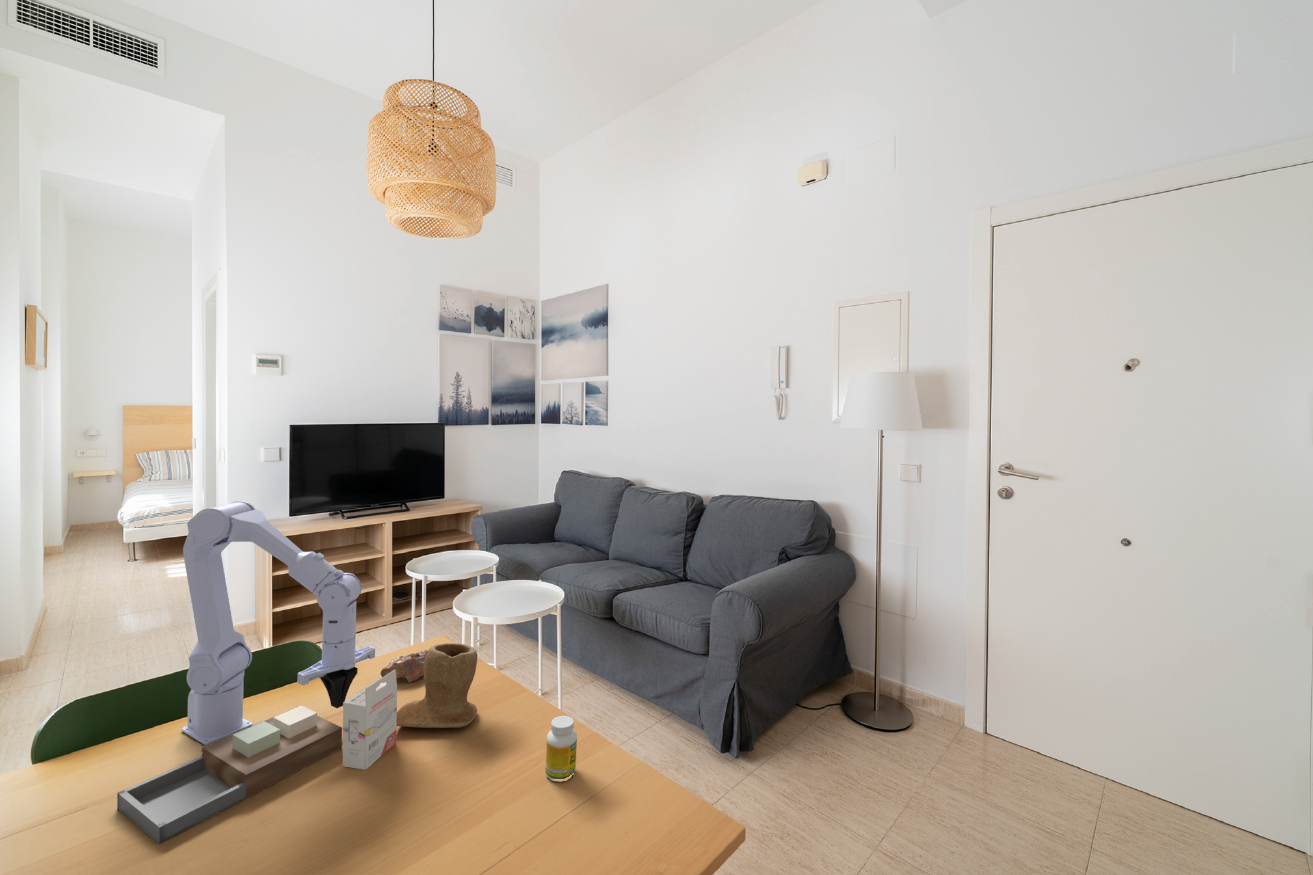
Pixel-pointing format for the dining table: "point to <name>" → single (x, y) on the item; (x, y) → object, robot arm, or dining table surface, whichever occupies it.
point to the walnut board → (271, 757)
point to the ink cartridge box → (370, 723)
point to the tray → (177, 800)
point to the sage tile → (256, 739)
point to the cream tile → (295, 721)
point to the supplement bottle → (561, 748)
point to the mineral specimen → (407, 666)
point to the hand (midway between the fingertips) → (337, 705)
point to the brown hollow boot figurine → (443, 689)
